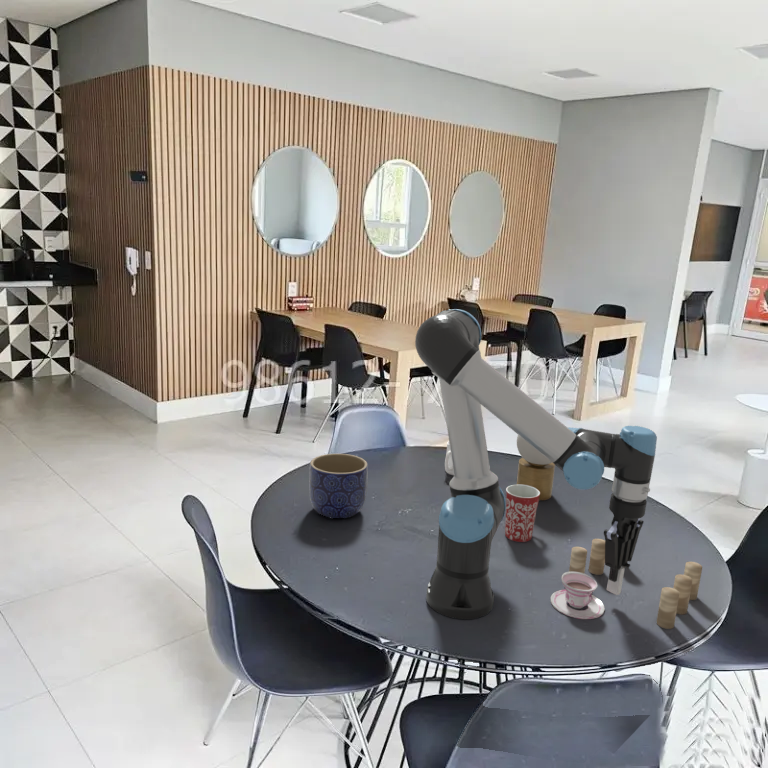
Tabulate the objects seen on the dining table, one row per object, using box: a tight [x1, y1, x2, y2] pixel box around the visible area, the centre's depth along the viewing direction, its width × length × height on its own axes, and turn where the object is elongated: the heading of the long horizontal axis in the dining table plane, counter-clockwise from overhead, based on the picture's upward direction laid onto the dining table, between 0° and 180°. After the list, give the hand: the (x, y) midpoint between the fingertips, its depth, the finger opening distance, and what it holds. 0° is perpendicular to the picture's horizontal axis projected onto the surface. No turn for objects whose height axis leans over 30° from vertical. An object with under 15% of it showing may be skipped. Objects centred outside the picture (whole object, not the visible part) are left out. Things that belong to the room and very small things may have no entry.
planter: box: [308, 453, 369, 519], centre depth 198 cm, size 16×17×15 cm
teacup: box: [550, 571, 606, 620], centre depth 157 cm, size 12×12×6 cm
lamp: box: [515, 434, 556, 502], centre depth 215 cm, size 15×14×25 cm
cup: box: [444, 440, 454, 476], centre depth 233 cm, size 8×12×10 cm
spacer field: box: [568, 538, 703, 630], centre depth 164 cm, size 20×27×8 cm
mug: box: [504, 483, 540, 543], centre depth 189 cm, size 13×9×14 cm
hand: (613, 591), depth 158 cm, fingers closed
